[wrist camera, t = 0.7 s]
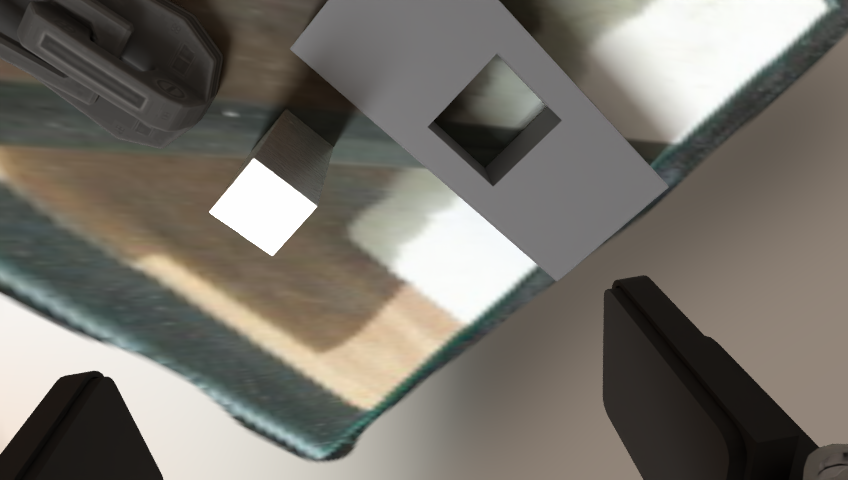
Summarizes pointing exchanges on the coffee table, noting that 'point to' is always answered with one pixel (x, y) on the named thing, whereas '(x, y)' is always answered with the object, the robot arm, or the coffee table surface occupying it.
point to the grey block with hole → (524, 157)
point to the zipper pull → (117, 61)
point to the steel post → (276, 184)
